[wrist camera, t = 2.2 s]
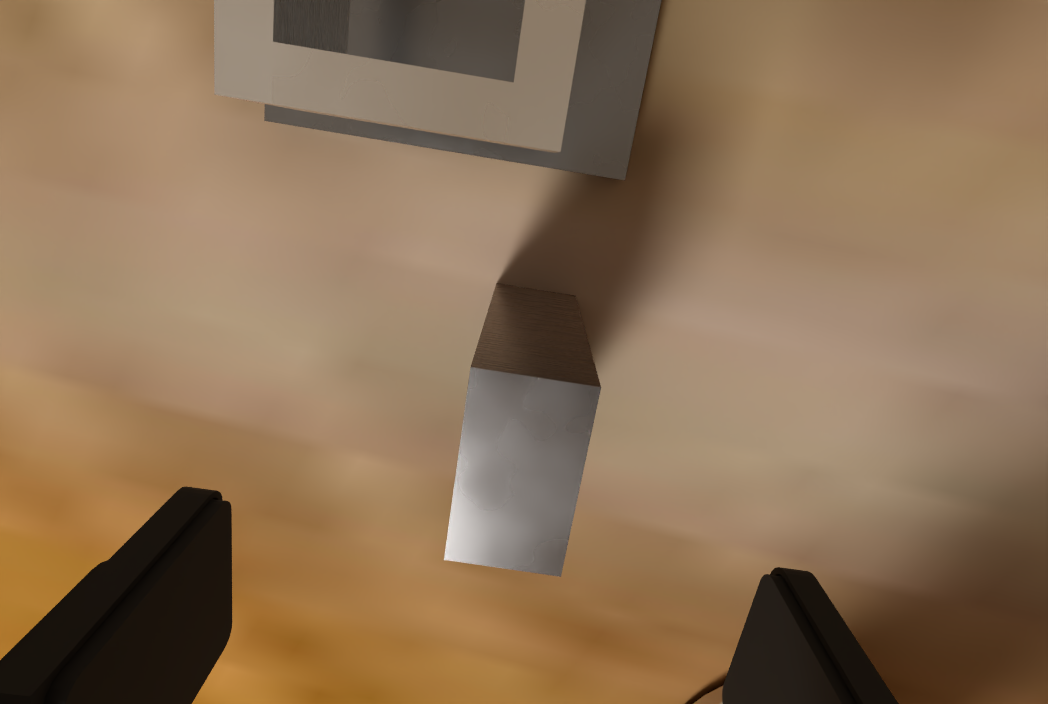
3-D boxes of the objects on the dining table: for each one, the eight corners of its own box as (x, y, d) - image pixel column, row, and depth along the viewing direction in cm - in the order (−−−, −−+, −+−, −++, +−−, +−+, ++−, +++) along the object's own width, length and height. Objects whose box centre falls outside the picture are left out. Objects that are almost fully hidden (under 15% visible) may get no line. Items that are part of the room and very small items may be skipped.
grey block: (551, 421, 26) (560, 576, 16) (478, 410, 26) (444, 559, 16) (575, 295, 24) (600, 387, 15) (496, 283, 24) (470, 367, 14)
